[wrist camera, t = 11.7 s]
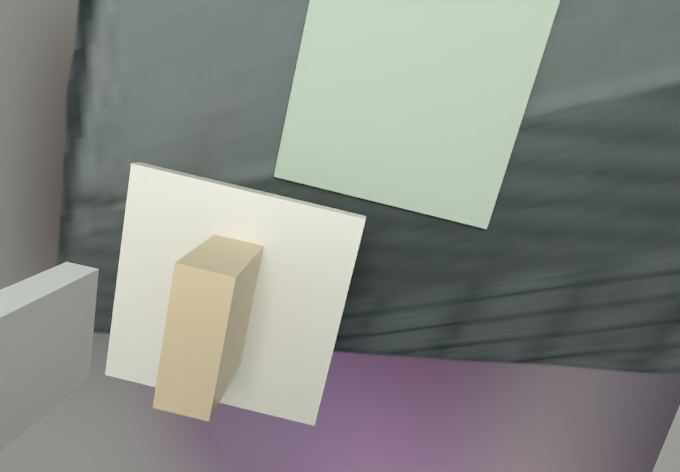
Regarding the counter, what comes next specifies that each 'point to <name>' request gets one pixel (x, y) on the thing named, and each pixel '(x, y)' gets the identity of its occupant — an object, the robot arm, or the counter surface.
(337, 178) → the mat
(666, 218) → the counter surface
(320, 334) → the board
